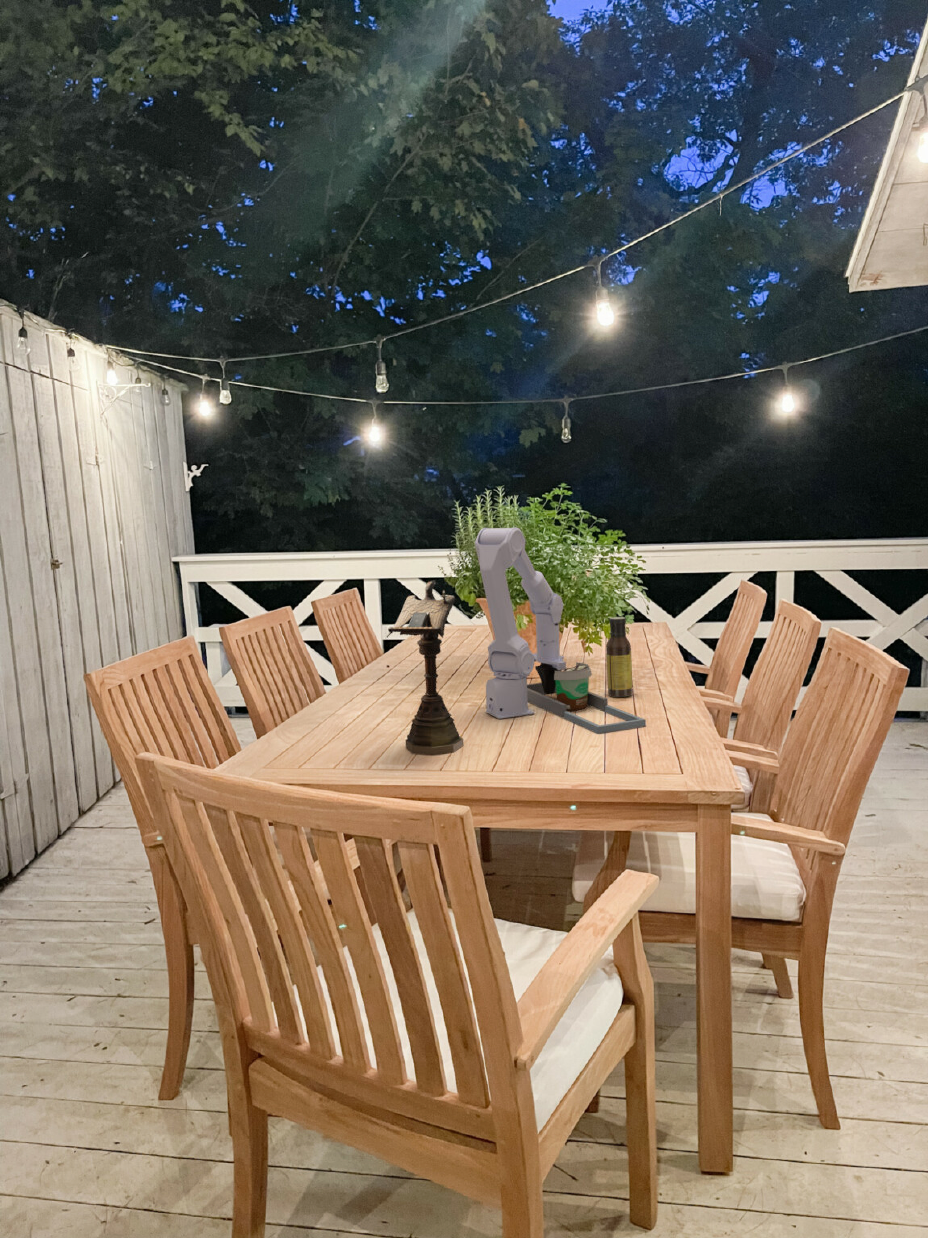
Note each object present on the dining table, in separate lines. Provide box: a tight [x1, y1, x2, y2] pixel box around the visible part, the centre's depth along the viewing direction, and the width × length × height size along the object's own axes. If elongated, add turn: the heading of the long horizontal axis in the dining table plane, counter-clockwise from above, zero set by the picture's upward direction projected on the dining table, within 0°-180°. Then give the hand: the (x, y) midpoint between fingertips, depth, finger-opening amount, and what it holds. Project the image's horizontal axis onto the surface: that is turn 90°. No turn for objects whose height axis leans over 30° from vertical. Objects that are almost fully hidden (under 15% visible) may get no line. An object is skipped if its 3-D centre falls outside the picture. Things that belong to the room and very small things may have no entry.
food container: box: [554, 661, 593, 713], centre depth 199 cm, size 12×6×10 cm, turn 146°
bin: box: [527, 682, 609, 719], centre depth 204 cm, size 12×24×3 cm, turn 22°
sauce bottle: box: [605, 616, 634, 698], centre depth 209 cm, size 6×6×20 cm
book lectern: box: [386, 579, 465, 756], centre depth 168 cm, size 17×13×35 cm
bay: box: [563, 704, 647, 735], centre depth 186 cm, size 12×15×2 cm
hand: (549, 693), depth 210 cm, fingers closed
